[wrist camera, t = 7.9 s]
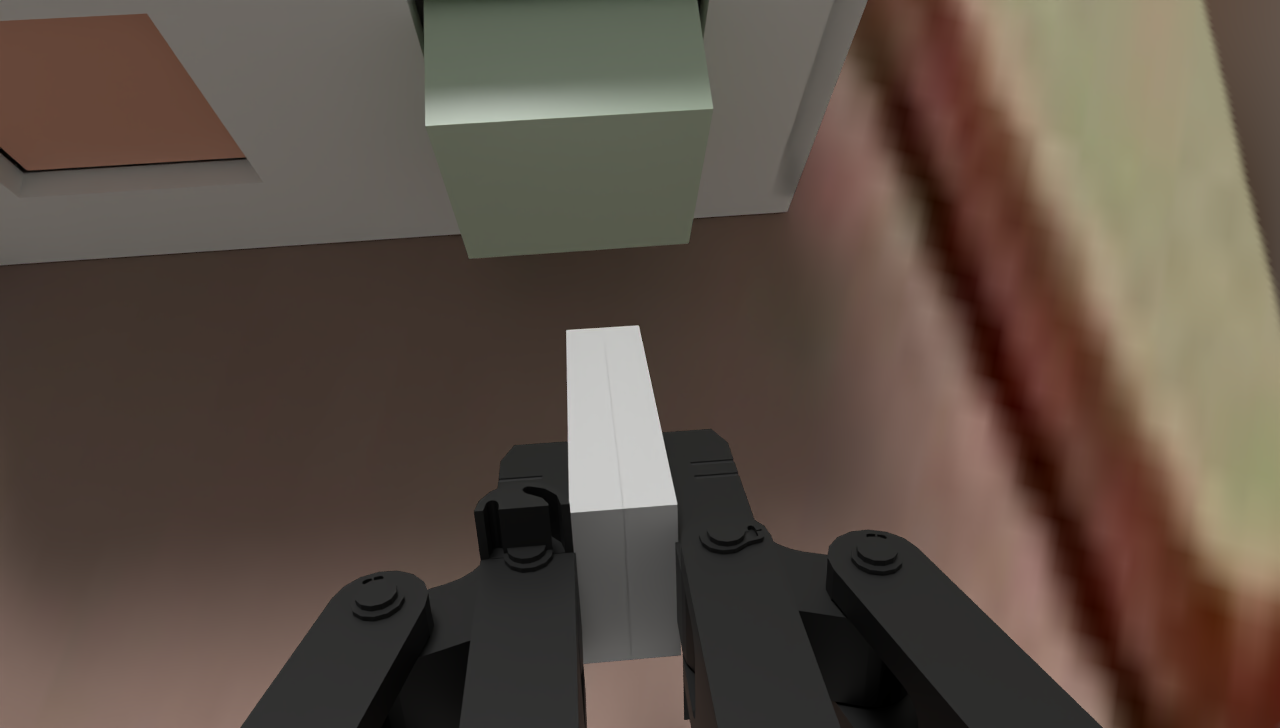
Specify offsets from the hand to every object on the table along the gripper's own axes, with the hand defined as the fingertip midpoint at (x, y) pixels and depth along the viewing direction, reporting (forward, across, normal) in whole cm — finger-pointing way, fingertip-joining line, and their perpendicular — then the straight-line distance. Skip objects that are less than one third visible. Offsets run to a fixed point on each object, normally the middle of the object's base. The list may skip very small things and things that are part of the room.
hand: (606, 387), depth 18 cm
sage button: (+9, 0, +3) cm, 10 cm away
